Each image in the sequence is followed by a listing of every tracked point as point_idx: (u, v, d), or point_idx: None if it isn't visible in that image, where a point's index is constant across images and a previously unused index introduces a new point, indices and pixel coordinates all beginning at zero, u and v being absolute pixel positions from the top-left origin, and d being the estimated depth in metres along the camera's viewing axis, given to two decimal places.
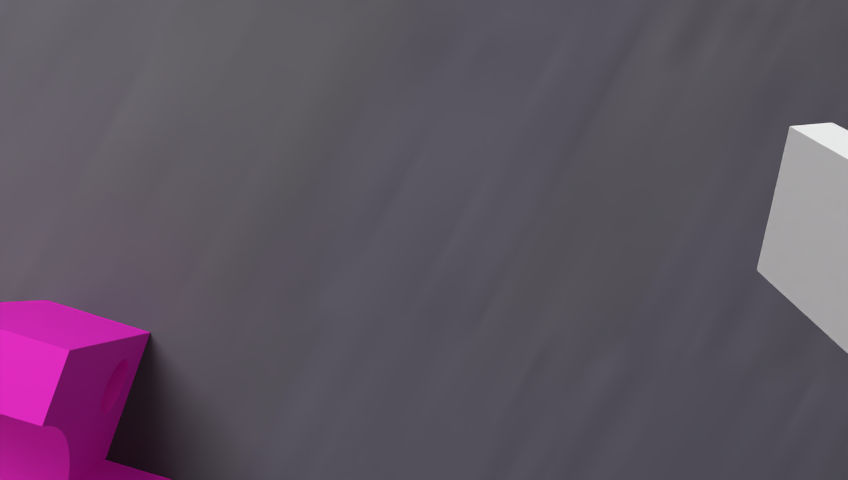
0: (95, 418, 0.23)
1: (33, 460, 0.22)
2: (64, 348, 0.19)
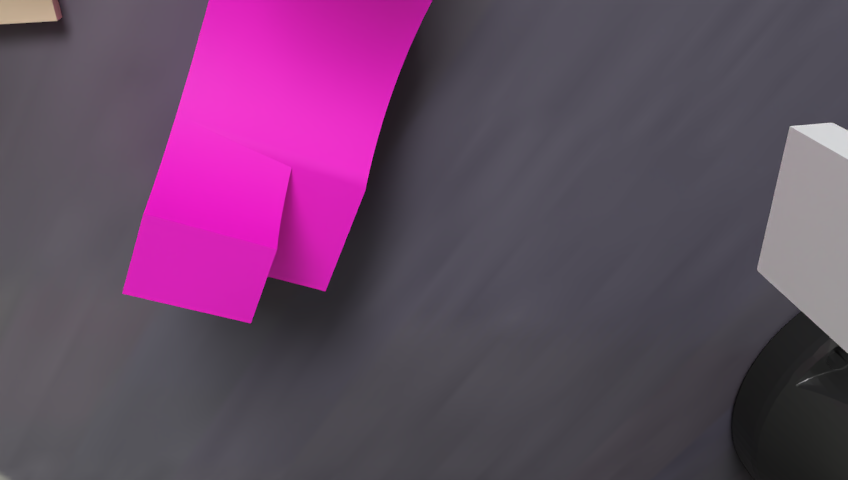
0: None
1: None
2: None
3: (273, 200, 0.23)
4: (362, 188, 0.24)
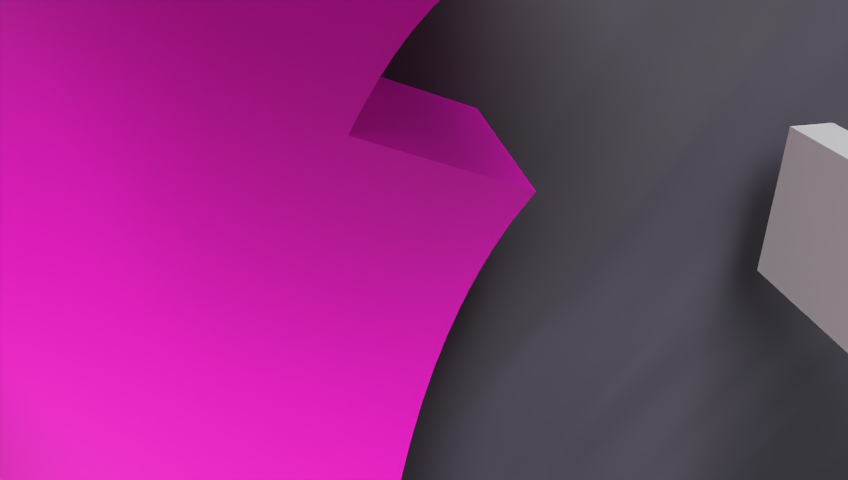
0: None
1: (268, 71, 0.08)
2: None
3: None
4: None
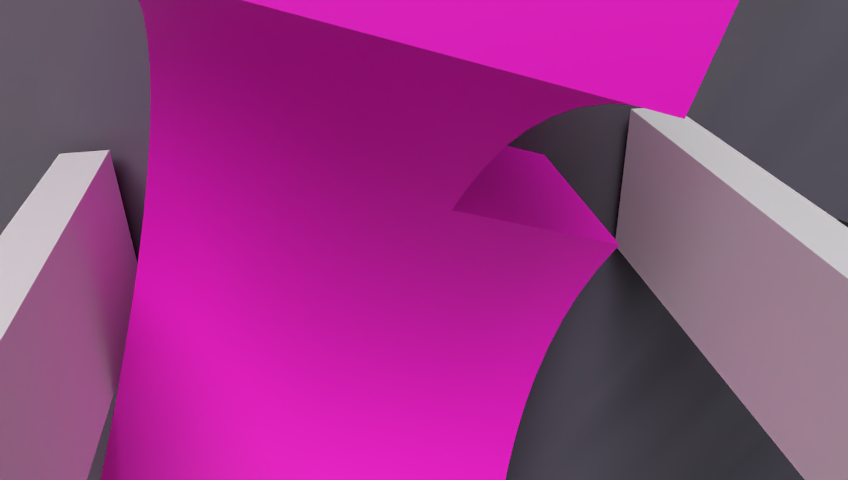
0: None
1: (386, 164, 0.09)
2: None
3: None
4: None
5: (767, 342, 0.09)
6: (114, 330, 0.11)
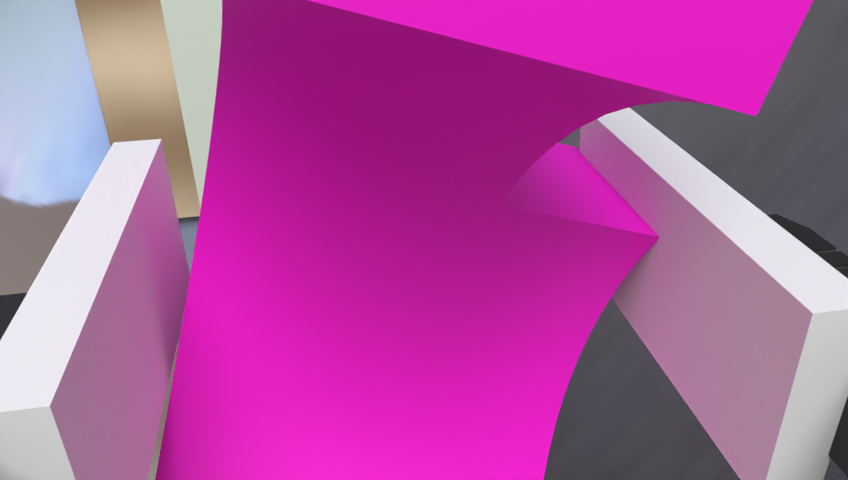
0: None
1: (437, 161, 0.09)
2: None
3: None
4: None
5: (699, 334, 0.10)
6: (169, 311, 0.11)
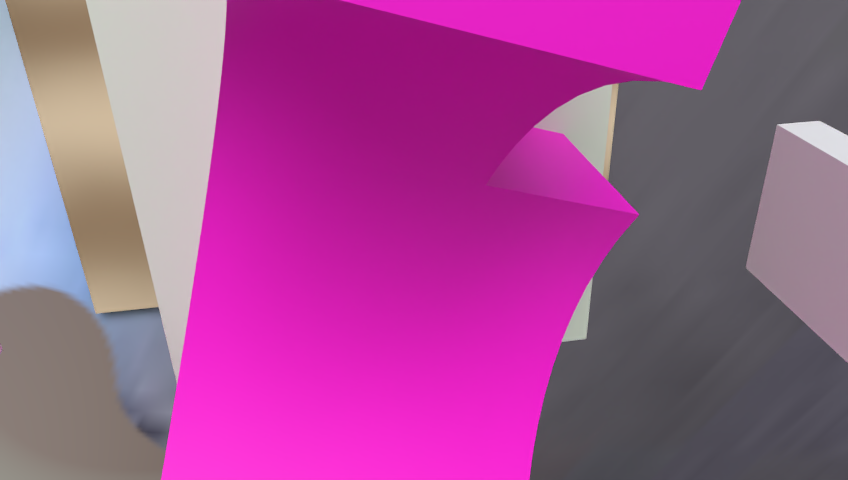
0: None
1: (427, 144, 0.10)
2: None
3: None
4: None
5: None
6: None
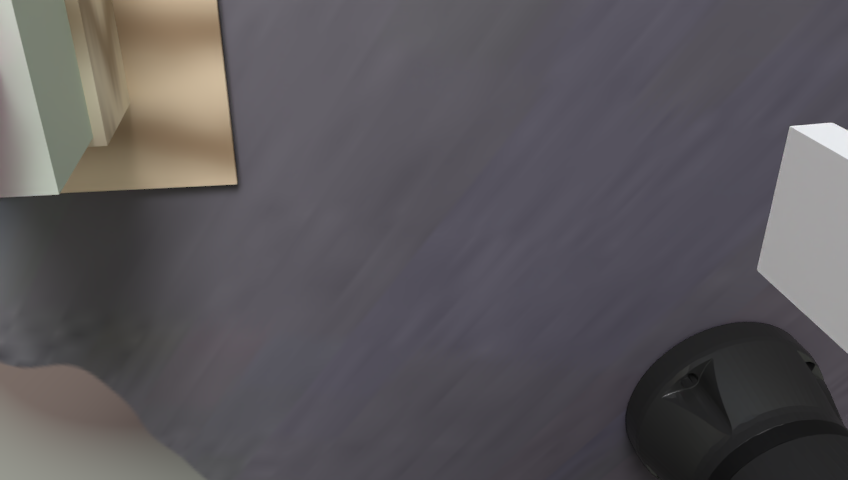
0: None
1: None
2: None
3: None
4: None
5: None
6: None
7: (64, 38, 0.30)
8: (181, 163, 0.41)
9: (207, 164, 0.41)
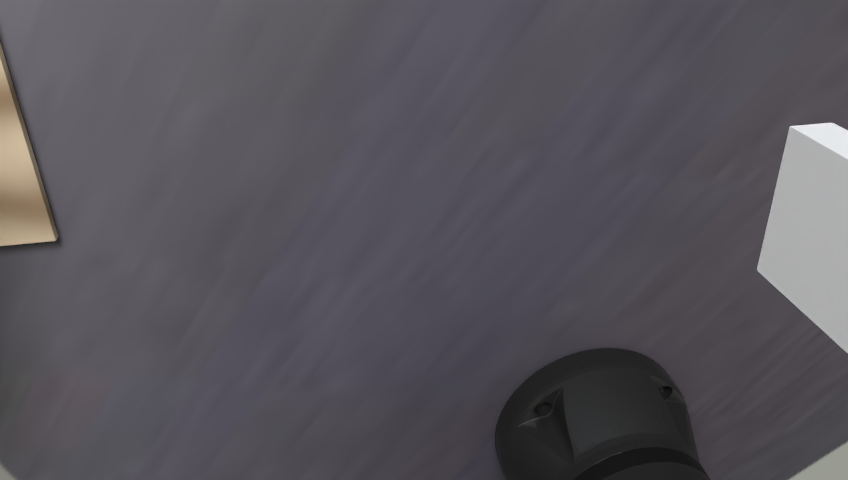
0: None
1: None
2: None
3: None
4: None
5: None
6: None
7: None
8: None
9: (22, 223, 0.43)
